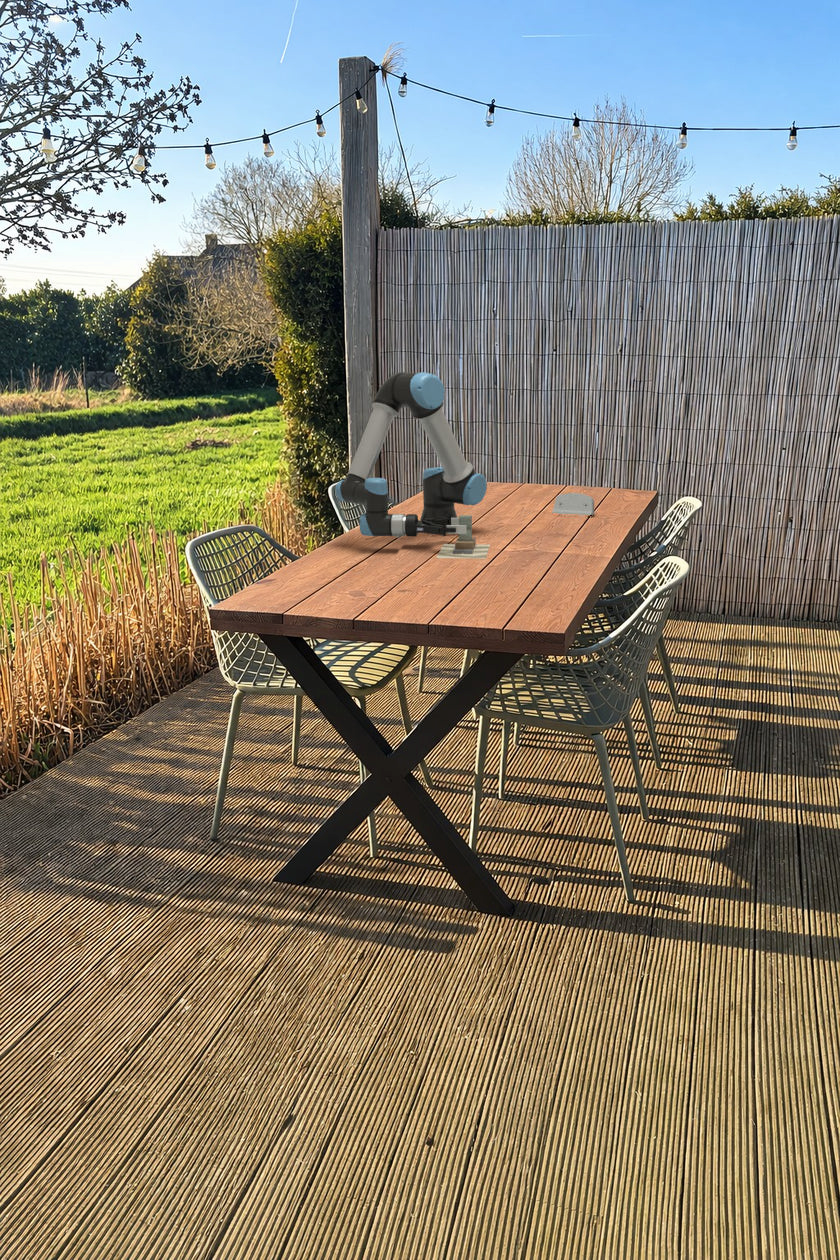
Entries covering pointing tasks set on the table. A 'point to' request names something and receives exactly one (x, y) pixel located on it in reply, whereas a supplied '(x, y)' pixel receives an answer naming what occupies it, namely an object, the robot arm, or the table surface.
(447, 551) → the board
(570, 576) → the table surface
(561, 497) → the hinge
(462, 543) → the block
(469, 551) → the mark tile
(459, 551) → the mark tile
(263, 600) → the table surface
